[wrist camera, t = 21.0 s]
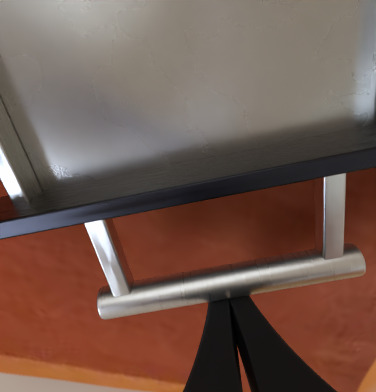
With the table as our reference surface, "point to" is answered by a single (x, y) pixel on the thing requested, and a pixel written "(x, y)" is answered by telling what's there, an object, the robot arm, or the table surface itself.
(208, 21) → the drawer
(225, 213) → the table surface
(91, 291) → the table surface
